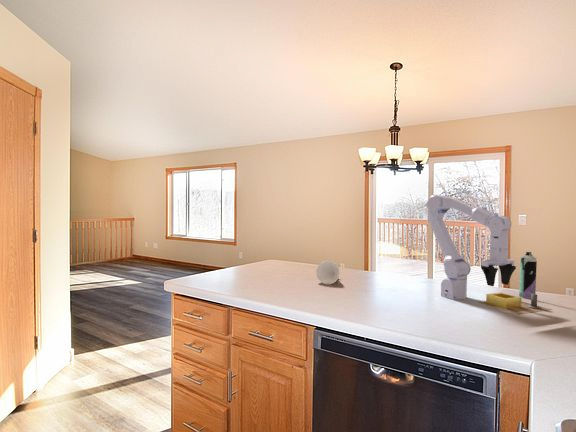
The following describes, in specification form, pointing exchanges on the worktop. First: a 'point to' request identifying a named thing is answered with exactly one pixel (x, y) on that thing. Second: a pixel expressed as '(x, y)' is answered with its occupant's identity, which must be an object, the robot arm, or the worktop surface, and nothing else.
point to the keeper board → (523, 307)
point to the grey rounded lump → (327, 272)
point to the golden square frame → (503, 300)
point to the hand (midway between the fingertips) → (497, 284)
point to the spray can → (527, 276)
